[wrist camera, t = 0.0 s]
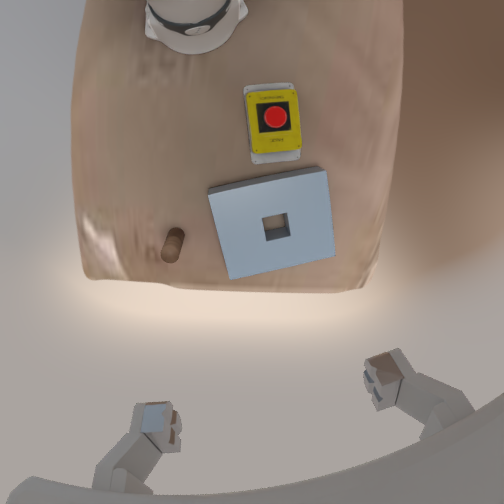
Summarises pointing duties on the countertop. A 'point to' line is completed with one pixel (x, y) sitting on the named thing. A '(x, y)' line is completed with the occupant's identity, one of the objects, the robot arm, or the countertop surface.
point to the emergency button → (273, 122)
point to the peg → (172, 245)
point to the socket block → (268, 204)
